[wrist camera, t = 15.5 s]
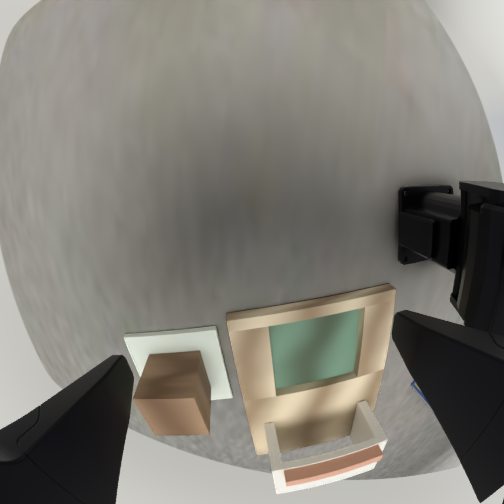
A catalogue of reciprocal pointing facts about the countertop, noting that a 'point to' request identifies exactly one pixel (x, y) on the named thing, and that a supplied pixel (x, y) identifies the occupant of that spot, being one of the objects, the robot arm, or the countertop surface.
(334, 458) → the panel
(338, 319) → the puzzle board
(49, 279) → the countertop surface
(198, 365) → the walnut block
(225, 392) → the coaster pad
